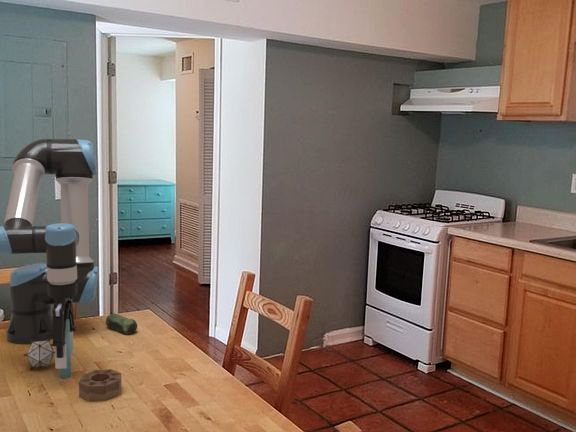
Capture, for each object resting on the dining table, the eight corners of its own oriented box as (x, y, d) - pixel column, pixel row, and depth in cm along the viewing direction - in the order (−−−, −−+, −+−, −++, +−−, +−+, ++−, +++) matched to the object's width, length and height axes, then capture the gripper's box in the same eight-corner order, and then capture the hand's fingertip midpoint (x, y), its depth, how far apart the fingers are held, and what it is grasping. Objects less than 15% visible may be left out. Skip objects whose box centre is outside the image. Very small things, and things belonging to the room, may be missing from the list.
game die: (44, 381, 162) (41, 363, 155) (19, 368, 163) (14, 349, 156) (64, 357, 168) (62, 338, 161) (40, 344, 169) (37, 326, 162)
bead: (84, 384, 152) (83, 370, 152) (122, 382, 154) (122, 368, 153) (76, 402, 143) (76, 387, 142) (118, 399, 144) (117, 385, 144)
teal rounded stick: (60, 373, 158) (59, 318, 156) (72, 373, 159) (70, 318, 156) (58, 378, 155) (56, 322, 153) (70, 378, 156) (68, 322, 153)
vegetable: (140, 332, 192) (140, 318, 191) (128, 337, 188) (127, 322, 187) (114, 323, 200) (114, 310, 199) (101, 327, 196) (101, 313, 195)
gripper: (56, 271, 163) (59, 346, 166) (37, 292, 142) (40, 378, 145) (84, 271, 164) (86, 345, 168) (68, 292, 143) (71, 376, 147)
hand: (64, 360), depth 156 cm, fingers open, 9 cm apart
